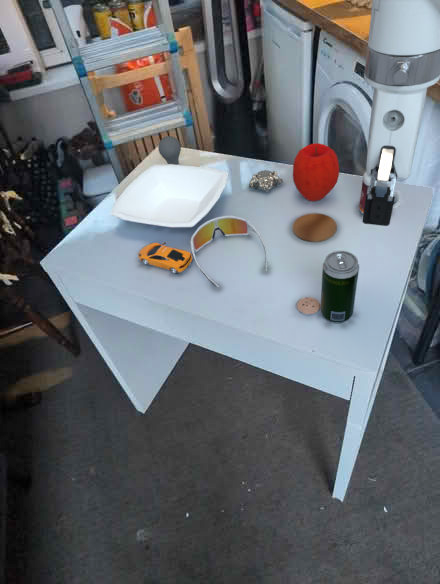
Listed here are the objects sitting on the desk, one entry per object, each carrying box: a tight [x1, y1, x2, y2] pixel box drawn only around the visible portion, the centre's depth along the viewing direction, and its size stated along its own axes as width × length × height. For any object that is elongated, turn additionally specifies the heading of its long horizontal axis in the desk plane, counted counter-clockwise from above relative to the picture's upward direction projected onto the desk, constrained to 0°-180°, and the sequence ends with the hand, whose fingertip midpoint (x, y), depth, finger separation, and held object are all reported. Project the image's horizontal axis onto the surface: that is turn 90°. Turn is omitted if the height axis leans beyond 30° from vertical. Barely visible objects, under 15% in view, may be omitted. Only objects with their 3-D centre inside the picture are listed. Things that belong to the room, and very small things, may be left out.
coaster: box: [292, 212, 338, 243], centre depth 90 cm, size 9×9×1 cm
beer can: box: [320, 250, 360, 325], centre depth 70 cm, size 5×5×12 cm
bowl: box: [109, 163, 229, 228], centre depth 98 cm, size 22×23×6 cm
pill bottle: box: [358, 171, 391, 215], centre depth 88 cm, size 6×6×11 cm
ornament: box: [248, 169, 283, 192], centre depth 101 cm, size 8×7×4 cm
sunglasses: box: [190, 215, 268, 288], centre depth 86 cm, size 14×15×5 cm
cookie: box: [296, 296, 321, 315], centre depth 75 cm, size 4×4×1 cm
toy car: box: [137, 242, 194, 275], centre depth 88 cm, size 6×12×3 cm, turn 61°
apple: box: [292, 142, 340, 202], centre depth 93 cm, size 10×10×12 cm
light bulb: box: [157, 135, 182, 165], centre depth 109 cm, size 6×6×10 cm
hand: (379, 200), depth 57 cm, fingers open, 9 cm apart
